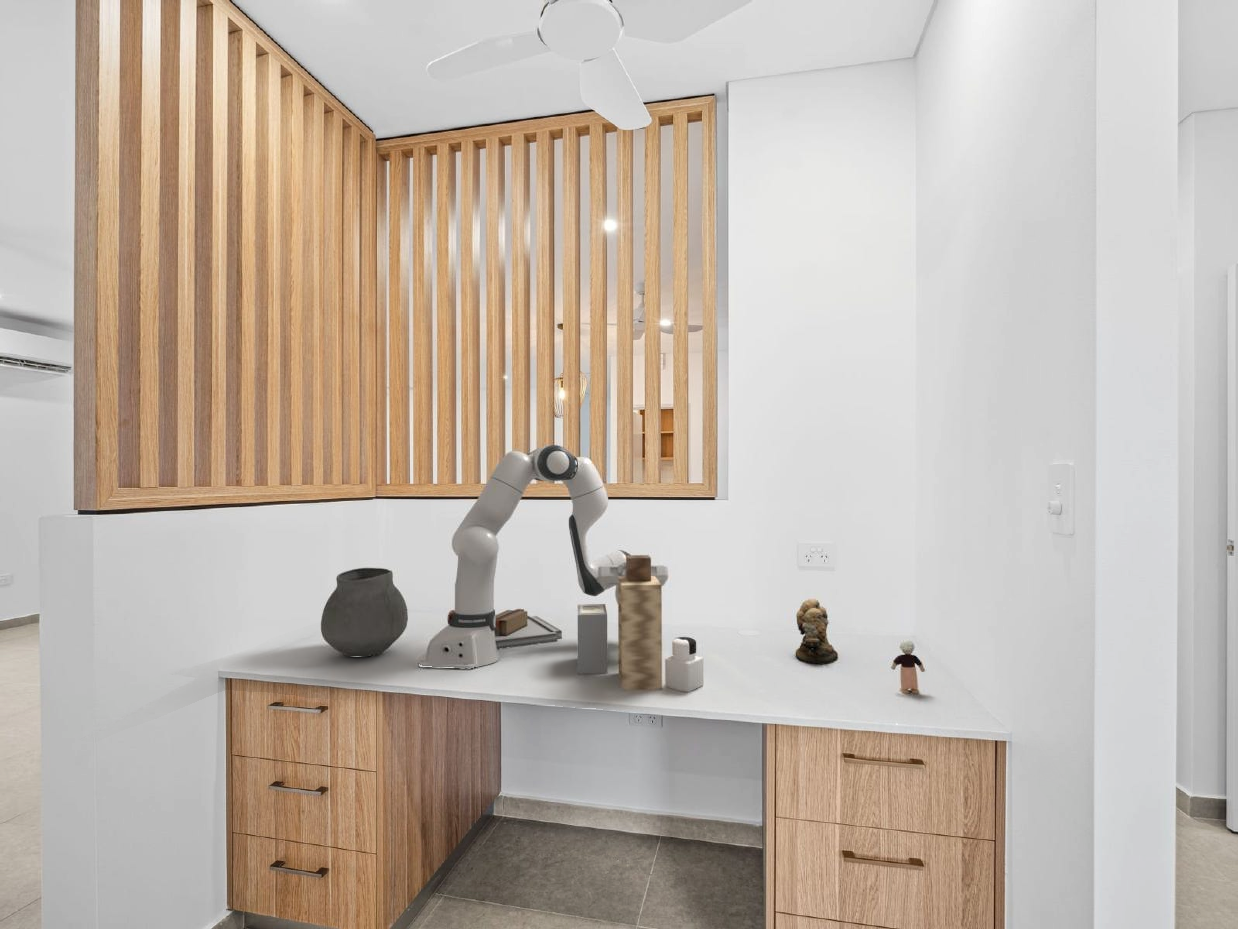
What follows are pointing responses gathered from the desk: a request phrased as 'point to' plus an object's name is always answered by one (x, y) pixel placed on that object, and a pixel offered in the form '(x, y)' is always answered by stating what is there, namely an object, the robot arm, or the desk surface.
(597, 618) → the plinth
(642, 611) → the tall wooden pillar
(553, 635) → the grey tray
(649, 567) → the brown wooden bar
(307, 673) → the desk surface
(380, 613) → the ceramic pot
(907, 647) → the grandmother figurine
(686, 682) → the medicine bottle
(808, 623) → the brown lumpy piece
